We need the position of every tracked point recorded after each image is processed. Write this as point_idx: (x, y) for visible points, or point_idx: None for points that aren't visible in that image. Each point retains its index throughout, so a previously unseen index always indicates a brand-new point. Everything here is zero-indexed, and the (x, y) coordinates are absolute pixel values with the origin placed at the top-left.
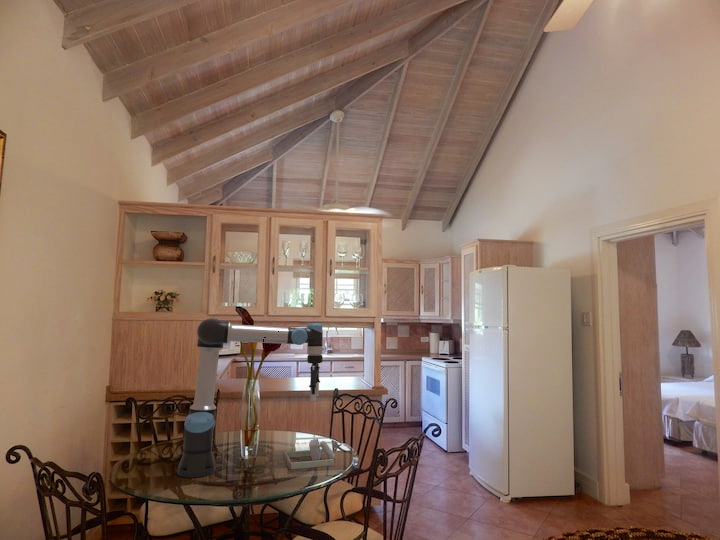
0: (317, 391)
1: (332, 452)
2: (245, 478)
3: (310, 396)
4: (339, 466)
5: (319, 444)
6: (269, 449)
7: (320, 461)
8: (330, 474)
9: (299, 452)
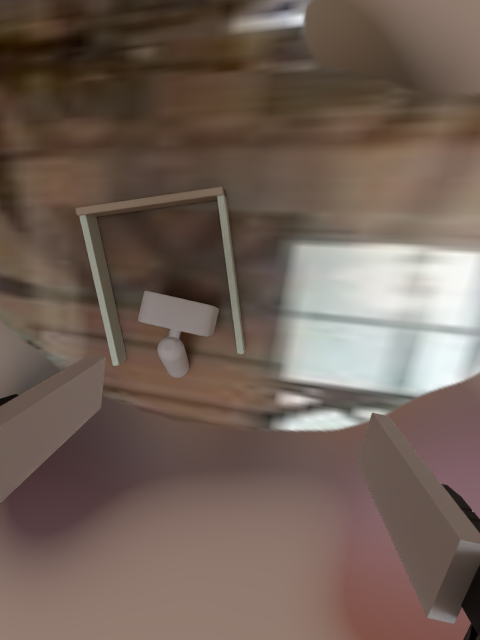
0: (379, 488)
1: (169, 371)
2: (4, 49)
3: (60, 372)
4: (112, 373)
5: (171, 334)
6: (351, 127)
7: (104, 320)
8: (42, 337)
9: (225, 254)
